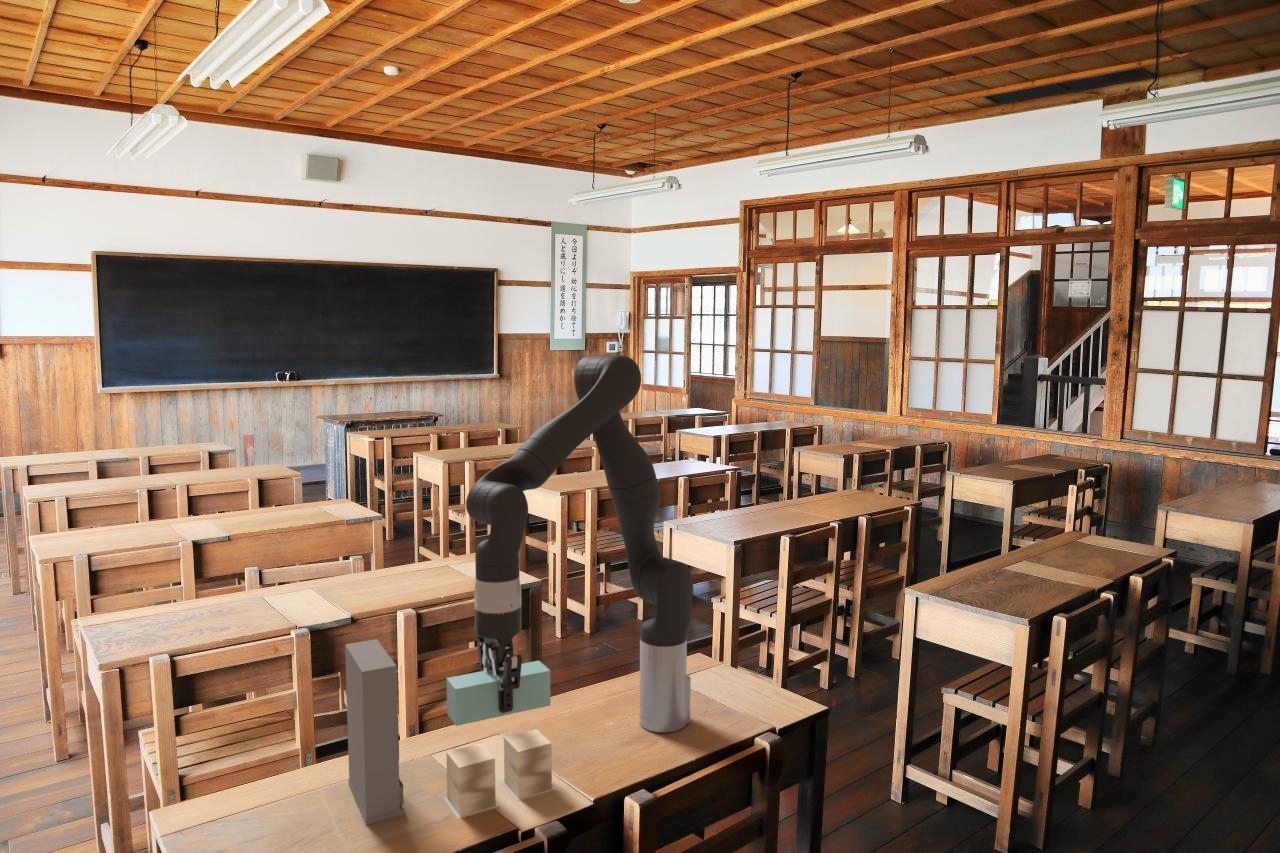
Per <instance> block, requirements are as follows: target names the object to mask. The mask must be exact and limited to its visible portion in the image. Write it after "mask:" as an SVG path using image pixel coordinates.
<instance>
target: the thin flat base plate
mask: <svg viewBox="0 0 1280 853" xmlns="http://www.w3.org/2000/svg"><path fill="white" fill-rule="evenodd" d="M500 783H501V785H502V786H503V787H504V788H505V789H506V791H508V793H509V794H510V795H511V796H512V797H513V799H514V800H515V801H516V802H520V801H522V800H525V799H530V798H532V797H536V796H539V795H542V794H546V793H549V792H552V791H556V790H557V789H556V788H555V787H554V786H553V785H552V789H549V790H546V791H543V792H539V793H536V794H533V795H529V796H526V797H523V798H519V799H518V797H517V796H516V795H515V794H514V793H513V792H512V791H511V789H510V788H509V787H508V786H507V785H506V784H505V780H503V781H500ZM443 800H444V801H445V803H446V805H447V806H448V807H449V808H450V810H451V811H452V813H453V815H454V816H455V818H457V820H459V819H462V818H467V817H469V816H472V815H476V814H479V813H482V812H486V811H490V810H493V809H496V808H499V807H500V804H498V802H497V801H496V806H492V807H489V808H486V809H482V810H479V811H476V812H472V813H469V814H466V815H462V816H459V814H458V813H457V812H456V810H455V809H454V807H453V806H452V805H451V803H450V802H449V800H448V799H447V796H446V797H443Z"/></svg>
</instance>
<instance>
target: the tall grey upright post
mask: <svg viewBox="0 0 1280 853" xmlns="http://www.w3.org/2000/svg"><path fill="white" fill-rule="evenodd" d="M344 646H345V647H344V648H345V649H344V652H345V682H346V683H345V684H346V685H345V686H346V714H347V715H346V717H347V718H346V719H347V747H348V748H347V750H348V752H347V754H348V780H347V781H348V786H349V789H350V791H351V793H352V795H353V796H352V797H353V800H354V801H355V803H356V806H357V808H358V810H359V812H360V814H361V817H362V819H363V822H364V824H365V826H368V825H371V824H376V823H379V822H383V821H387V820H390V819H394V818H398V817H401V816H404V815H405V809H404V807H403V805H404V804H405V803H404V785H403V783H402V781H401V779H400V762H399V761H400V741H399V740H400V739H399V733H400V732H399V715H398V713H399V712H398V709H399V708H398V679H397V678H398V677H397V676H398V674H397V670H398V669H397V665H396V663H395V662H394V660H393V659H392V658H391V657H390V655H389V654H388V652H387V651H386V650H385V648H384V647H383V646H382V644H381V642H380V641H379V640H378V639H377V638H376V639H370V640H363V641H359V642H358V641H357V642H352V643H351V642H350V643H346V644H344Z"/></svg>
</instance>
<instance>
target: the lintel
mask: <svg viewBox="0 0 1280 853" xmlns="http://www.w3.org/2000/svg"><path fill="white" fill-rule="evenodd" d="M498 669H499V670H500V671H501V670H504V667H502V668H498ZM502 679H503V676H502ZM445 680H446V714H447V716H448V717H449V719H450V720H451V721H452V723H453V724H454V726H455V727H457V726H462V725H466V724H471V723H475V722H480V721H485V720H490V719H494V718H499V717H503V716H509V715H512V714H517V713H518V714H519V713H522V712H528V711H532V710H535V709H541V708H544V707H550V706H551V704H552V702H551V670H550V669H549V668H548V666H546V665H545V664H543V662H541V661H540V660H535V661H530V662H525V663H523V662H522V664H521V675H520V686H519V688H517V689H513V709H512V711H509V712H505V713H501V712H500V711H499V698H498V690H499V689H498V681H497V677H496V676H494V675H493V669H492V670H488V671H483V670H480V671H476V672H471V673H466V674H461V675H455V676H449V677H446V679H445Z"/></svg>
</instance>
